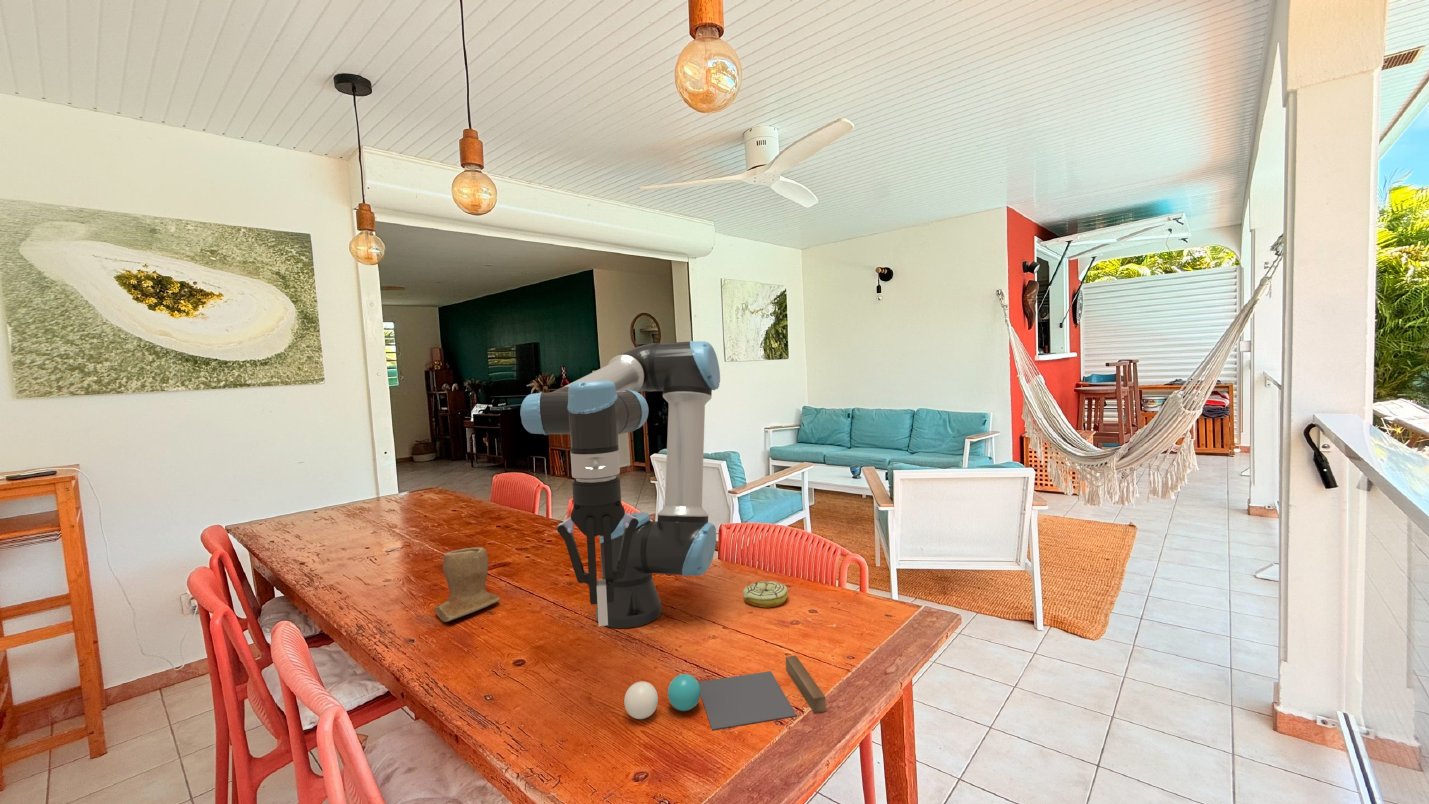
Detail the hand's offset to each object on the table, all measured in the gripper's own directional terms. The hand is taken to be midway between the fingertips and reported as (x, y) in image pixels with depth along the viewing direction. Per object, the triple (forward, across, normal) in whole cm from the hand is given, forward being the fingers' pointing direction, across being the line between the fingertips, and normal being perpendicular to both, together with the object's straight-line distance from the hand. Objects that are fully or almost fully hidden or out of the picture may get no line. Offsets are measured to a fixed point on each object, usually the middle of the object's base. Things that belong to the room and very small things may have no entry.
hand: (603, 622), depth 92 cm
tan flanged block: (+17, -33, +54) cm, 66 cm away
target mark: (+16, +23, 0) cm, 28 cm away
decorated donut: (+17, +39, +39) cm, 58 cm away
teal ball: (+14, +13, 0) cm, 19 cm away
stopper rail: (+16, +34, 0) cm, 38 cm away
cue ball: (+14, +6, 0) cm, 15 cm away
